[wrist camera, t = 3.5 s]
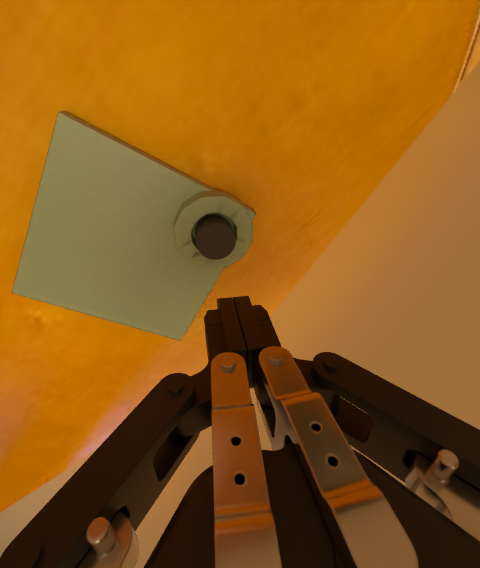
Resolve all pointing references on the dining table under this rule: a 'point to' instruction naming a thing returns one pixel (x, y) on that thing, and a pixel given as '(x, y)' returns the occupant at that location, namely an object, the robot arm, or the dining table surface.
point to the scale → (122, 233)
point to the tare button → (215, 237)
